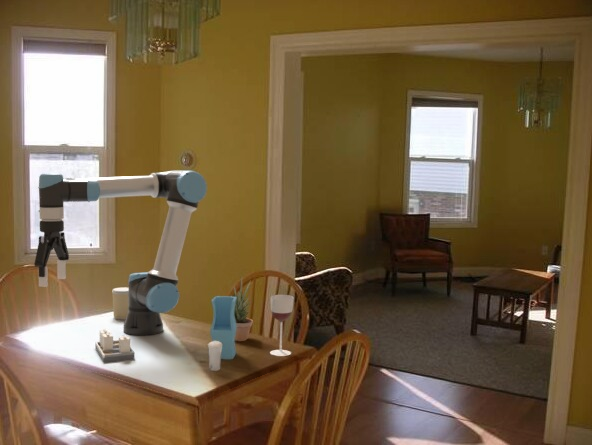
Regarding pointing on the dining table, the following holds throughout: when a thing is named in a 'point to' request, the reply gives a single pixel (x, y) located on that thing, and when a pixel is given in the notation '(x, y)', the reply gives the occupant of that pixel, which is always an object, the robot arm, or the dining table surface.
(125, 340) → the tab
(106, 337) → the tab
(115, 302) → the coffee cup
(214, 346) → the milkshake
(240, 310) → the potted plant
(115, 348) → the switch bank
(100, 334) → the tab
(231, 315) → the vase
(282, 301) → the wineglass
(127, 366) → the dining table surface
